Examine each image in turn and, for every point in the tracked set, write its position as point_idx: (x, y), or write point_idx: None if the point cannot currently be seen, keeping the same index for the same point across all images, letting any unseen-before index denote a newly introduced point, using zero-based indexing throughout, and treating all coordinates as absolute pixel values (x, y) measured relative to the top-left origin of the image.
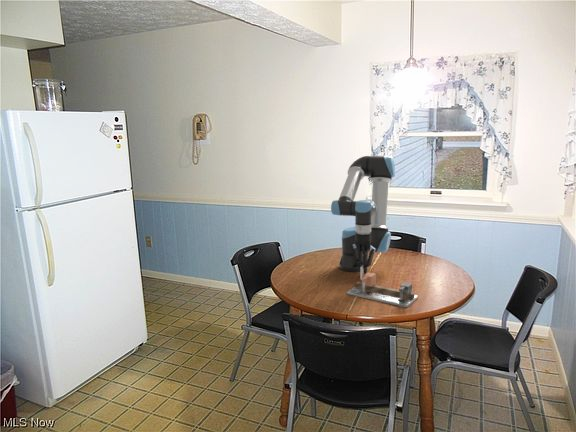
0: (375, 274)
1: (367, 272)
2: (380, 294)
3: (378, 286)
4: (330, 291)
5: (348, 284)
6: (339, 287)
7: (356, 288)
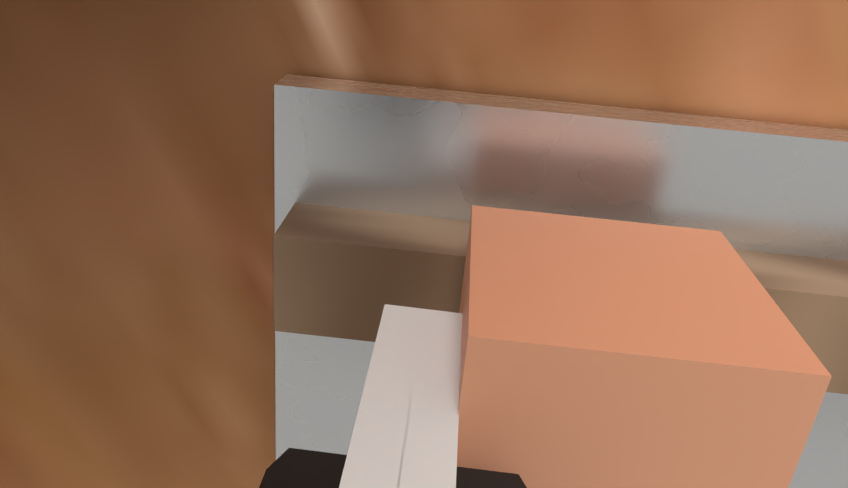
0: (811, 414)
1: (502, 363)
2: (835, 440)
3: (798, 330)
4: (27, 478)
5: (60, 96)
6: (26, 298)
7: (347, 361)
